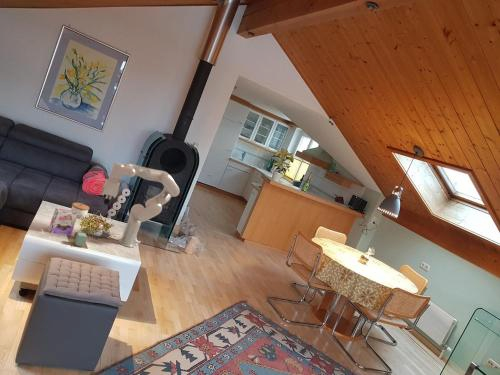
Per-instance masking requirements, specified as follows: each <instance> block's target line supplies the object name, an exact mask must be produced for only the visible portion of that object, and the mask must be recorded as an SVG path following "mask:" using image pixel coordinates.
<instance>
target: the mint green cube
mask: <svg viewBox="0 0 500 375" xmlns="http://www.w3.org/2000/svg"><path fill="white" fill-rule="evenodd" d="M77 232H78V231H77ZM87 238H88V236H87V234H86V233H84V232H78V233H77V235H76V238H75V241H74V242H75V244H76V245H81V246H84V244H85V243H86V242H87V241H86V240H87Z"/></svg>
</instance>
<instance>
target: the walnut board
mask: <svg viewBox="0 0 500 375" xmlns="http://www.w3.org/2000/svg"><path fill="white" fill-rule="evenodd" d="M77 233H78V231H75V232H74V235H72V234H71V235H67V234H66V237H67V240H68V243H69V246H70V247H73V248H80V249H89V248H88V245H87V243H86V242H85V244H84V246H77V245H76V244H75V242H74V241H75V238H76V235H77Z"/></svg>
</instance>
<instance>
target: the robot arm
mask: <svg viewBox="0 0 500 375" xmlns="http://www.w3.org/2000/svg"><path fill="white" fill-rule="evenodd" d="M109 173H110V174H109V177H108V179H106V181H105V182H104V184H103V186H102V188H101V193H100V195H101V196H103V197H104V199H103V204H104V205H105V206H108V204H109V203H110V201H111V199H116V198H117V196H118V194H119V190H120V183H122V181H123V180H122V176H124V177H126V178H133V177H135V176H137V177H140V178H141V179H143V180H146V181H152V182H158V183H160V184H162V185H163V190H162V191H161V192H160V193H159V194H157V195H155V196H153V197H151V198H149V199H148V200H146V201H145V203H144V204H145V207H144V205H143V204H140V203H137V204H134V205H133V206H132V207H131V209H130V212H129V217H128V220H127V223H126V226H125V227H124V231H123V233H122V236H121V238H119V239H118V240H117V242H118V243H119V245H122V246H124V247H128V248H134V247H136V244H139V245H140V244H141V241H140V240H138V239H136V238H137V235H138V233H139V230H140V227H141V225H142V223H143V222H147V221H148V220H151V219H152V218H154V217H156V216H158V215H160V214H161V212H162V210H163V205H166V204H167V203H169V201H170V199H171V198H172V197H175V198H176V197H177V196H179V194H180V193H181V192H180V187H179V185H178V184H177V183H176V181H175V180H174V178H173V177H172V175H171V174H169V173H168V172H167V171H164V170H160V169H154V168H149V167H145V166H141V165H138V164H133V163H124V164H123V163H121V162H114V164H113V166H112V169H111V171H110V172H109Z"/></svg>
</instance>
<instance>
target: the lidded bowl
mask: <svg viewBox="0 0 500 375" xmlns="http://www.w3.org/2000/svg"><path fill="white" fill-rule="evenodd" d="M70 210H71V211H76V212H77V214H78V216H77V219H83V218H84V217H85V216H86V215H87V214H88V212H89V210H90V206H88V205H86V204H84V203H83V202H82V203H81V202H72V205H71V208H70Z"/></svg>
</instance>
